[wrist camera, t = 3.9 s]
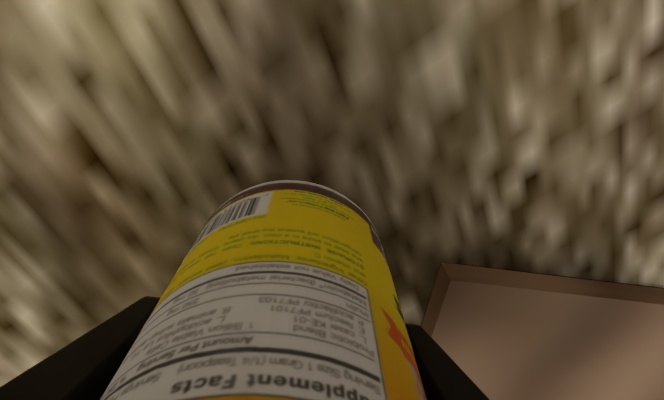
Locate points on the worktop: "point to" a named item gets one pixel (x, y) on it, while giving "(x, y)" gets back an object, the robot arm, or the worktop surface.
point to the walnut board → (549, 334)
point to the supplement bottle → (277, 308)
